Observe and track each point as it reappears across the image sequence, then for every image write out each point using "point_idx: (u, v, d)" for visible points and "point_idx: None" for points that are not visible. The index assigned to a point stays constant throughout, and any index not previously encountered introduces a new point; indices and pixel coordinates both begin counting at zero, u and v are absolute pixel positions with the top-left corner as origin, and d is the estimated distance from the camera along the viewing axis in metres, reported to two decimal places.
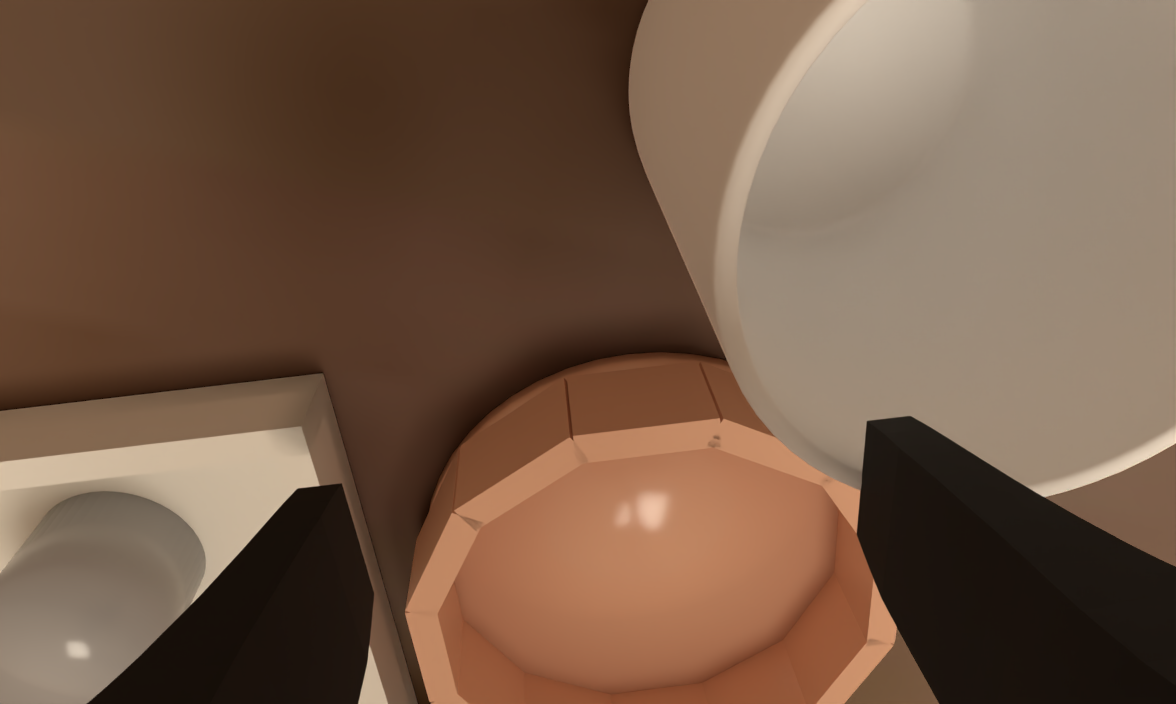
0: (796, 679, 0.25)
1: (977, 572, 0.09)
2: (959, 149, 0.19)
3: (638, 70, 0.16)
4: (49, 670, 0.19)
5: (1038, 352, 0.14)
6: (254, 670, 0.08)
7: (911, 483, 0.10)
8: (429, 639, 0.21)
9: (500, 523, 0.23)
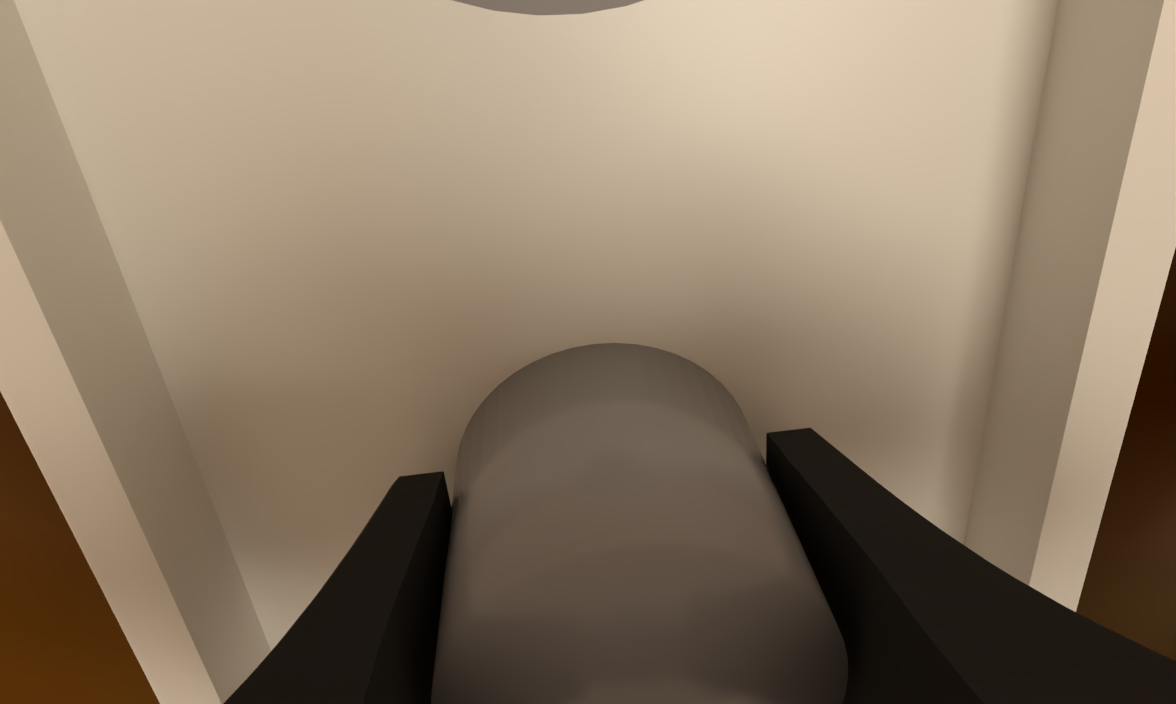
0: None
1: (850, 588, 0.09)
2: None
3: None
4: None
5: None
6: (394, 653, 0.08)
7: (799, 497, 0.10)
8: None
9: None
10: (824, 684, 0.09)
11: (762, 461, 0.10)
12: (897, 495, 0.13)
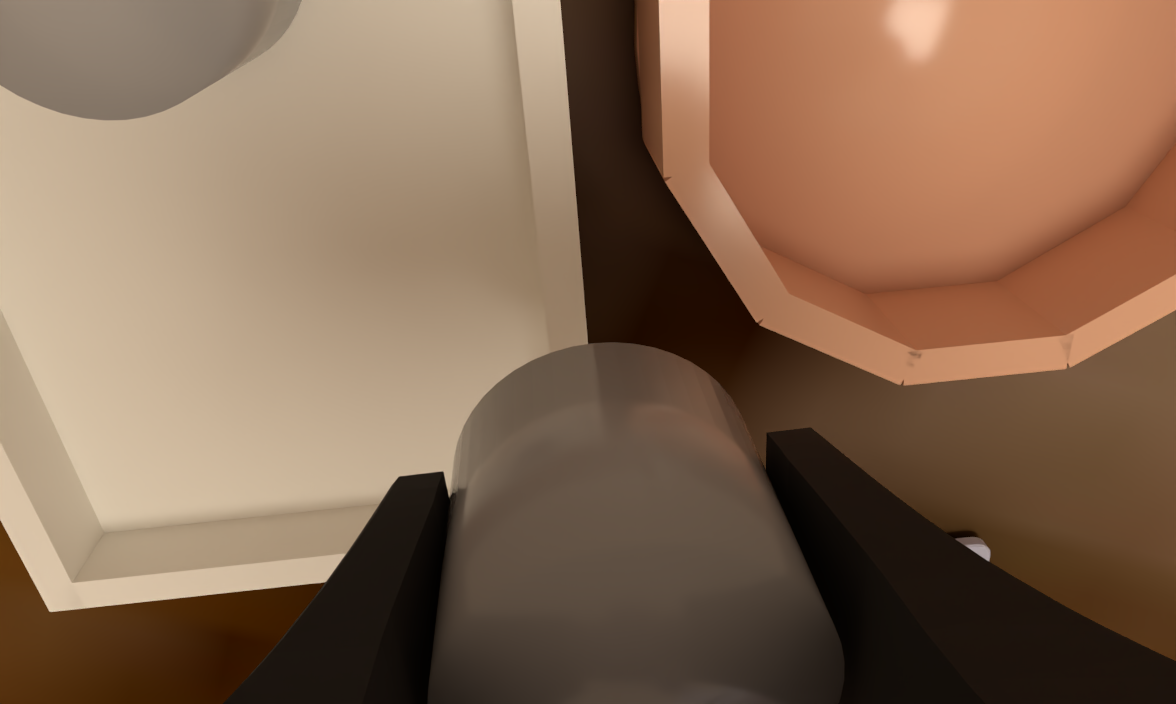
0: (1174, 228, 0.17)
1: (850, 588, 0.09)
2: None
3: None
4: None
5: None
6: (394, 653, 0.08)
7: (799, 496, 0.10)
8: (687, 29, 0.13)
9: None
10: (821, 685, 0.09)
11: (760, 462, 0.10)
12: None
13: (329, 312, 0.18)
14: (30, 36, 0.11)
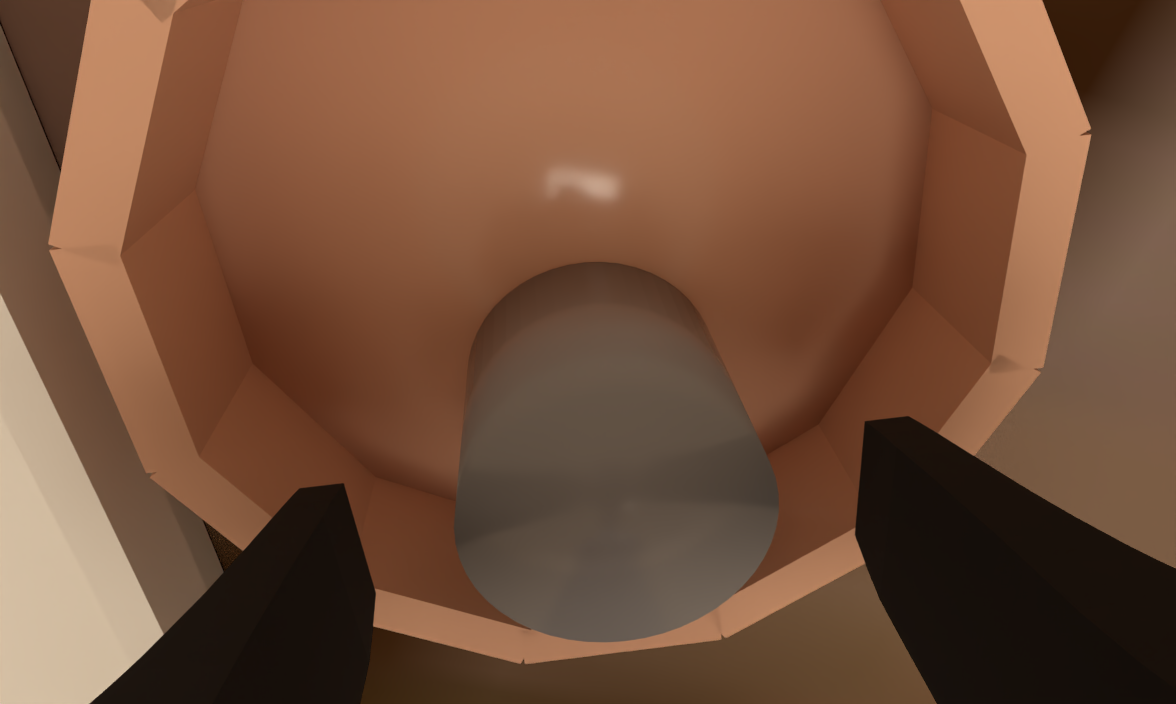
0: (846, 473, 0.14)
1: (974, 572, 0.09)
2: None
3: None
4: None
5: None
6: (257, 670, 0.08)
7: (909, 483, 0.10)
8: (115, 321, 0.11)
9: (295, 148, 0.12)
10: (760, 515, 0.11)
11: (719, 356, 0.13)
12: None
13: None
14: None
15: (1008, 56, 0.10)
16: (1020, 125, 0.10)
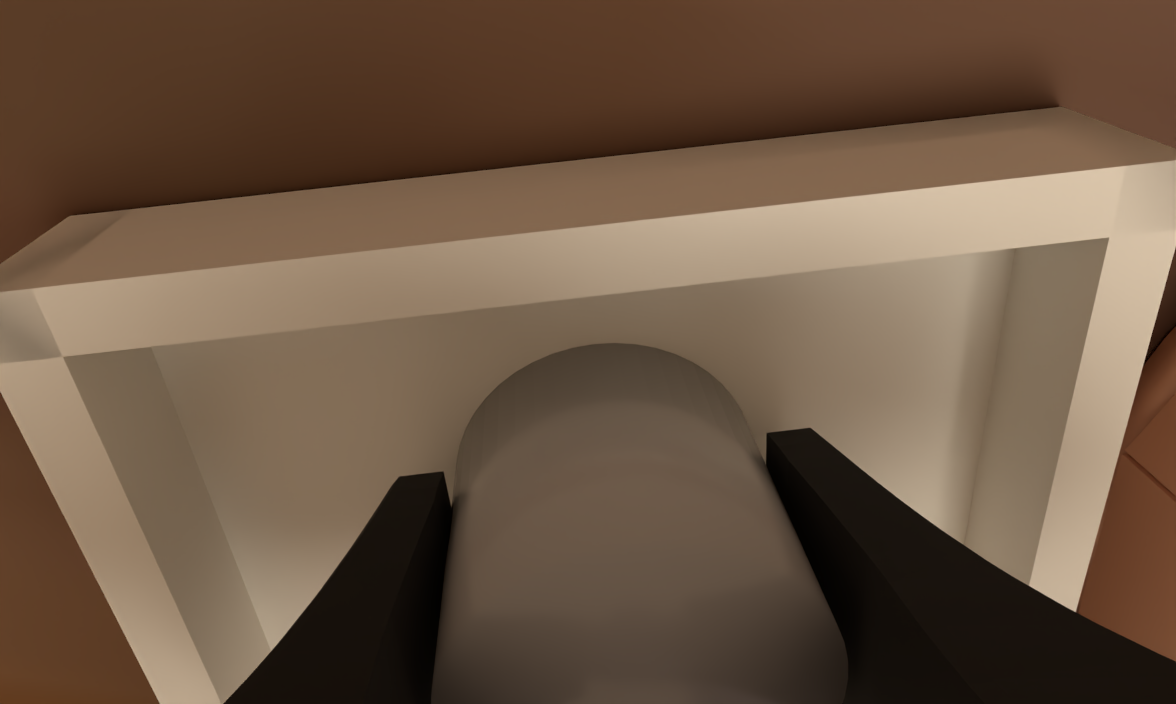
0: None
1: (850, 588, 0.09)
2: None
3: None
4: (643, 698, 0.09)
5: None
6: (394, 653, 0.08)
7: (799, 497, 0.10)
8: None
9: None
10: None
11: None
12: None
13: None
14: None
15: None
16: None
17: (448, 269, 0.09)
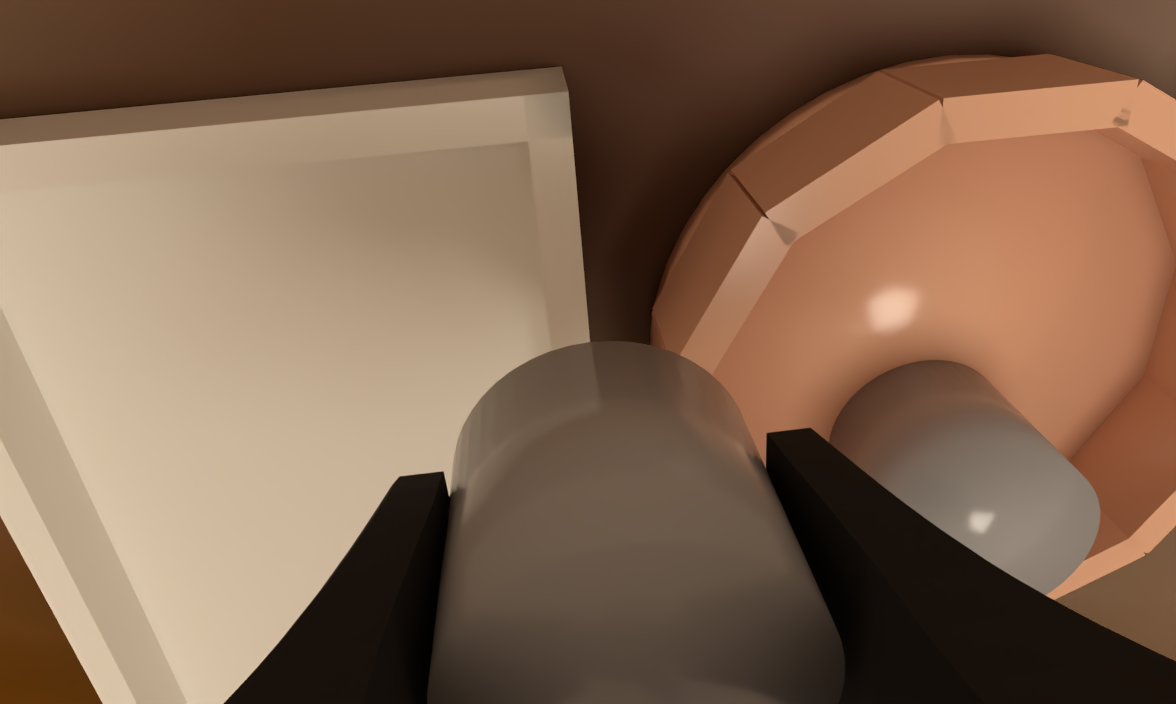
0: None
1: (850, 588, 0.09)
2: None
3: None
4: (640, 697, 0.09)
5: None
6: (393, 653, 0.08)
7: (799, 497, 0.10)
8: None
9: None
10: (1086, 535, 0.17)
11: None
12: None
13: None
14: None
15: None
16: None
17: (112, 152, 0.14)
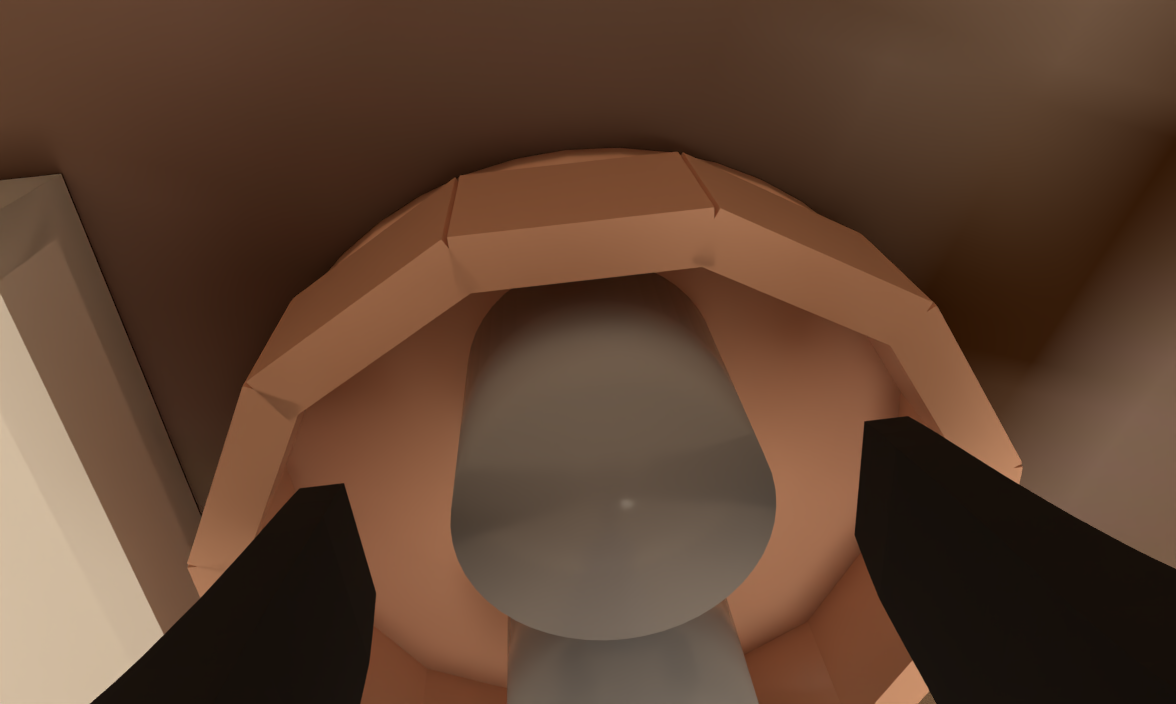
0: (830, 679, 0.17)
1: (974, 572, 0.09)
2: None
3: None
4: (616, 520, 0.11)
5: None
6: (258, 670, 0.08)
7: (908, 483, 0.10)
8: None
9: (370, 434, 0.15)
10: None
11: None
12: None
13: None
14: (558, 586, 0.12)
15: (953, 419, 0.12)
16: None
17: None
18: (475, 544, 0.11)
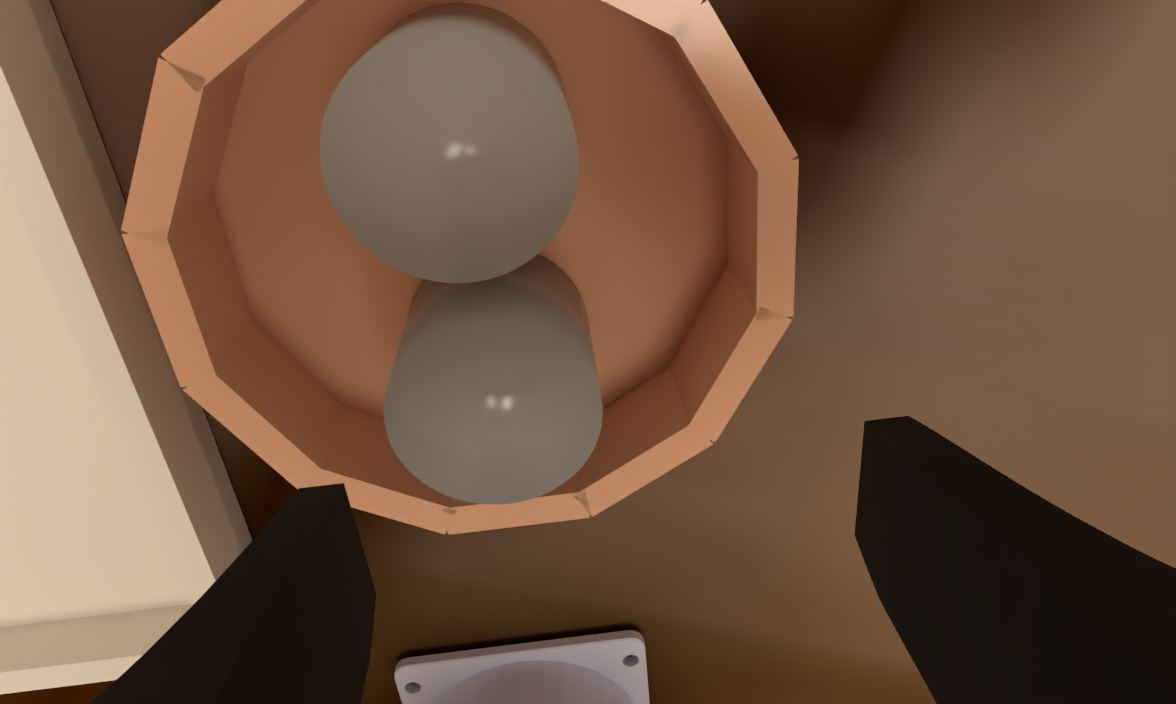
0: (678, 397, 0.20)
1: (974, 572, 0.09)
2: None
3: None
4: (451, 161, 0.14)
5: None
6: (257, 670, 0.08)
7: (909, 483, 0.10)
8: (162, 281, 0.16)
9: (282, 165, 0.18)
10: (590, 406, 0.17)
11: (575, 305, 0.18)
12: (157, 535, 0.22)
13: None
14: (410, 225, 0.15)
15: (735, 110, 0.15)
16: (751, 153, 0.16)
17: None
18: (342, 181, 0.14)
